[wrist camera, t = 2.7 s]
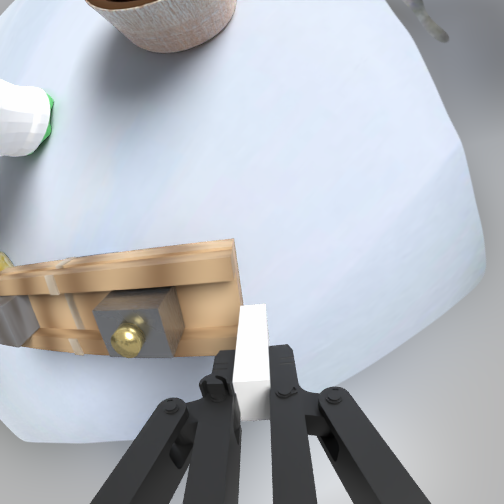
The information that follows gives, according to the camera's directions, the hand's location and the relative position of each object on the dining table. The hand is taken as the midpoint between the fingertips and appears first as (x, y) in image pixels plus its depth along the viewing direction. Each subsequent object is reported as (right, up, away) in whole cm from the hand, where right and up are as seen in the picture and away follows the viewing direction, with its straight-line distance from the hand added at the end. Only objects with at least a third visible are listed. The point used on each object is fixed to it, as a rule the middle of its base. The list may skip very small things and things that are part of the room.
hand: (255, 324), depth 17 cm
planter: (-7, +27, +2) cm, 28 cm away
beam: (-14, +1, +10) cm, 17 cm away
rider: (-8, 0, +4) cm, 9 cm away
